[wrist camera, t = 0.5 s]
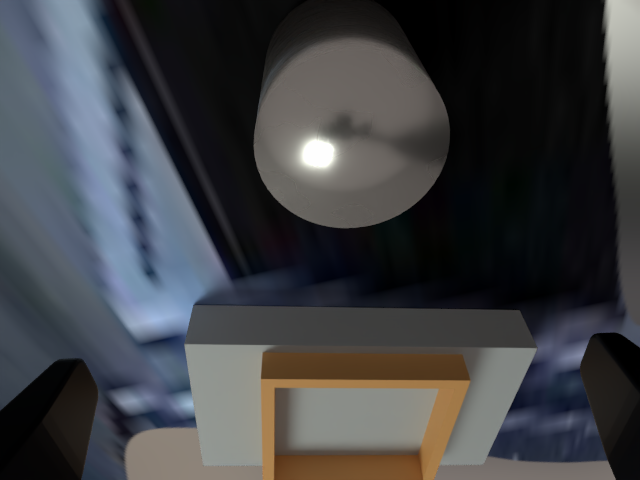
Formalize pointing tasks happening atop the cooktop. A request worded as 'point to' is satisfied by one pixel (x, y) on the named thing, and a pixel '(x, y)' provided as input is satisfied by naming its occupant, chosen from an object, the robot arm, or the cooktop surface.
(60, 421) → the robot arm
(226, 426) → the grey slab with frame
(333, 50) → the steel can
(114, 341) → the cooktop surface
